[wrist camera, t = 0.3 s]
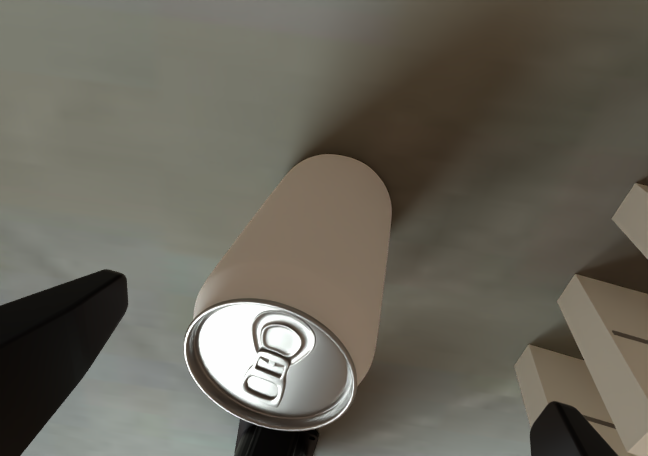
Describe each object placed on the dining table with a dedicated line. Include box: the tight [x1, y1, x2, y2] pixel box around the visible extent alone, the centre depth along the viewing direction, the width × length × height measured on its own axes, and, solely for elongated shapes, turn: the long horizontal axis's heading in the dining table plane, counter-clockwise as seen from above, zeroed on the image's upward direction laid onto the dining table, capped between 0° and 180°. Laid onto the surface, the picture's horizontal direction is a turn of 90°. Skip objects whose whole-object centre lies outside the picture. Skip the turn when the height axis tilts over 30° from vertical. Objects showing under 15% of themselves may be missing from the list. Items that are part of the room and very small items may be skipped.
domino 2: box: [514, 344, 638, 456], centre depth 21 cm, size 2×5×9 cm, turn 78°
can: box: [183, 154, 392, 431], centre depth 18 cm, size 6×6×12 cm
